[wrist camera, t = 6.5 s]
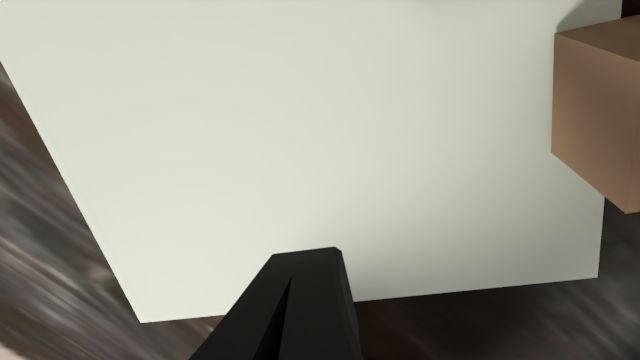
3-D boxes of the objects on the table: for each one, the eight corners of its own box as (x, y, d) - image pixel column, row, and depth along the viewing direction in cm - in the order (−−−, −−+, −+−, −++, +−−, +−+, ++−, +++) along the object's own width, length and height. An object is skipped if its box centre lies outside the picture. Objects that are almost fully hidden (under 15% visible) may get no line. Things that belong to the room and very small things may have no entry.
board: (586, 261, 19) (597, 277, 18) (149, 307, 22) (140, 323, 22) (622, -229, 12) (643, -241, 11) (-33, -49, 15) (-57, -48, 14)
